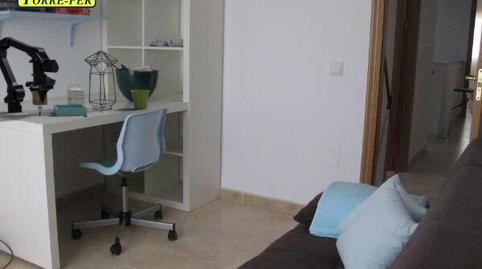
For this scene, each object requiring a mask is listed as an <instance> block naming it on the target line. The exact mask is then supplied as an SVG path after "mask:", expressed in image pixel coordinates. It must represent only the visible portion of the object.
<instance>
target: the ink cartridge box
mask: <svg viewBox="0 0 482 269" xmlns="http://www.w3.org/2000/svg"><path fill="white" fill-rule="evenodd" d="M71 104H82V105H84V106H85V89H82V88H81V84H80V83H71V84H70V83H68V84H67V105H71Z"/></svg>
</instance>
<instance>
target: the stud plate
mask: <svg viewBox="0 0 482 269" xmlns="http://www.w3.org/2000/svg"><path fill="white" fill-rule="evenodd" d="M37 109H38V112H37V113H36V112H35V113H34V112H33V113H32V112H31V113H29V115H30V117H51V116H52V114H51V113H50V112H43V106H42V105H38V106H37Z"/></svg>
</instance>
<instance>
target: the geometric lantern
mask: <svg viewBox="0 0 482 269" xmlns="http://www.w3.org/2000/svg"><path fill="white" fill-rule="evenodd" d="M93 56H94V57H93ZM92 57H93V58H92ZM89 58H92V59H89ZM111 58H113V59H111ZM83 61H84V62H86V63H87V64H88V65H89V66H90V67H89V68H90V70H89V74H88V75H89V81H88V84H89V85H88V86H89V88H88V103H89V104H90V105H91V106H92V107H93V108H92V109H93V110H95V111H96V110H98V111H102V109H105V111H108V110H109V111H110V110H113V109H112V108H113V105H115V104H116V103H117V96H116V93H117V92H116V84H115V83H116V82H115V81H116V80H115V70H114V65H116V63H118V62H119V59H118V58H116V57H115V56H112V55H110V54H109V53H107V52H105V50H98V51H96V52H95V53H92V55H90V56H88V57H85V58H84V59H83ZM101 62H102V63H104V64H105V65H106V66H105V68H104V69H103V71H102V70H101V68H99V66H98V65H99V64H100V63H101ZM110 63H111V64H110ZM93 68H95V69H96V71H93V72H92V70H93ZM109 68H111V71H112V72H110V71H109V72H108V71H107V70H108V69H109ZM98 69H99V70H98ZM95 74H96V75H99V98H98V99H94V100H91V85H92V84H91V82H92V81H91V80H92V75H95ZM107 74H110V75H112V77H113V78H112V79H113V80H112V81H113V82H112V83H113V92H114V99H113V100H112V99H107V98H106V87H105V76H106V75H107ZM102 80H103V81H102ZM102 82H103V83H102ZM102 84H103V99H102ZM97 101H99V102H97ZM107 101H108V102H107ZM94 104H95V105H94Z"/></svg>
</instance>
